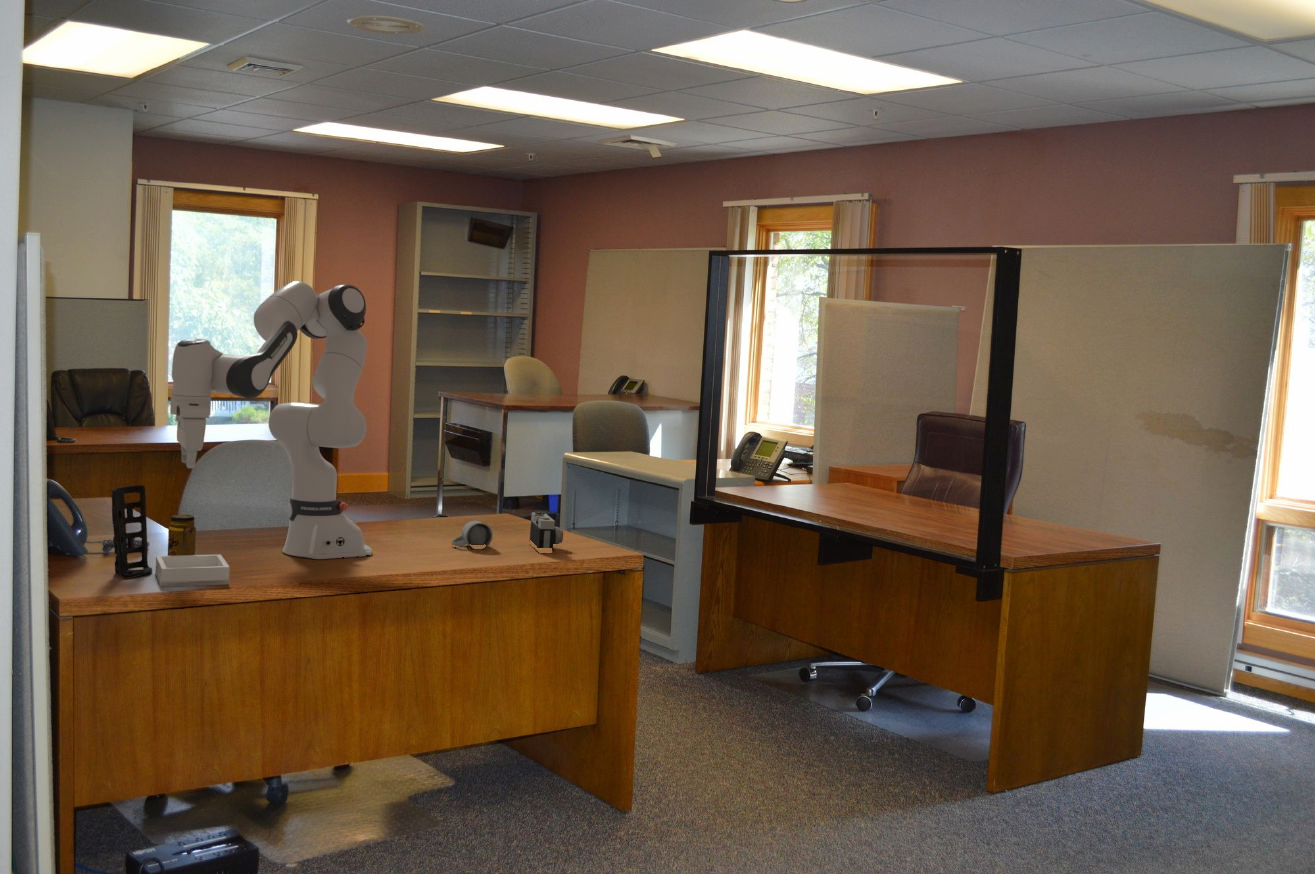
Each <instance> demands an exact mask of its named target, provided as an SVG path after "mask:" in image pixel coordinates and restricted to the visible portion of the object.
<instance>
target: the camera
mask: <svg viewBox="0 0 1315 874" xmlns="http://www.w3.org/2000/svg"><path fill="white" fill-rule="evenodd" d="M555 523H556V521H555V520H554V519H553V518H552V517H551V516H549V515H548V514H547V513H546V512H543V511H535V512H531V518H530V529H529V530H530V532H529V541H530V540H531V541H532V542H533V543H534V544H535V545H536V546H537V548H553V549H554V547H553V544H559V545H560V544H561V543H562V542H563V541H564V540H563V539H564V532H563V530H562V529H560V527H559V526H555Z"/></svg>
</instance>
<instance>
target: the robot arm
mask: <svg viewBox="0 0 1315 874" xmlns="http://www.w3.org/2000/svg"><path fill="white" fill-rule="evenodd" d="M366 311H367V303H366V299H365V296H364V293H362V291H361V290H360V289H359V288H358V287H356V286H355V285H353V284H340V285H335V286H334V287H332V288H331V289H330V288H329V289H328V290H325V291H323V292H321V293H319V294H318V293H316V291H315V290H314V289H313V287H312V286H311V285H309V284H308V283H306V282H304V281H300V280H298V281H297V280H294V281H291V282H289V283H286V284H285V285H283V286H282V287H280V288H279V289H277V290H276V291H274V292H272V294H270V295H269V296H268V297H267V298H266V299H265V300H264V301H263V302H262V303H260V305H259V306H258V307H257V308H256V310H255V312H254V313H253V314H254V315H253V324H254V325H253V326H254V328H255V330H256V332H257V334H258V335H259V336H260V338H262V339H263V340H264V342H263V344H262V345H261V347H260V348H259V349H258V350H257V351H256V353H252V354H249V355H236V354H235V355H234V354H225V353H224V352H221V351H220V350H218V349H216V348H215V347H213V345H212V344H211V341H210V340H208V339H204V338H187V339H183V340H180V341H179V342H178V343H176V344H175V347H174V351H173V354H172V364H171V365H172V366H171V379H172V387H171V388H172V389H171V393H170V408H169V409H170V410H169V411H170V412H169V413H170V415H174V416H175V422H177V424H176V425H177V426H176V441H177V442H178V443H179V444H180V451H181V462H182V463H183V464H185V466H186V468H187V469H195V468H196V461H197V460H196V459H197V455H198V451H199V452H200V451H202V449H203V447H204V441H205V436H206V435H205V434H206V428H207V426H206V425H207V419H209V418H210V416H211V413H212V412H211V409H212V408H211V406H212V393H214V394H221V395H229V396H237V397H239V398H244V399H245V398H246V399H255V398H257V397H259V396H261V395H262V394H263V393H264V392H265V390H266V389H267V387H268V386H269V383H270V381H271V379H272V377H273V375H274V373H275V372H276V370H277V369H278V368H279V366H280V365H281V363H283V361H284V360H285V358H286V357H287V356H288V354H289V353H290V352H291V350H292V349H293V348H294V346H295V344H296V342H297V339H298V331H300V332H301V333H302V334H303V335H304V336H306V337H308V338H310V339H314V340H319V339H326V342H325V343H326V344H325V348H324V351H323V352H322V354H321V356H320V359H319V362H318V365H317V366H316V368H315V369H316V370H315V372H314V374H313V377H312V386H313V389H314V391H315V392H316V393H317V394H318V396H320V397H321V398H322V399H323V402H321V403H314V402H313V403H311V402H310V403H309V402H302V401H301V402H300V401H299V402H298V401H293V402H292V401H291V402H285V403H279V404H277V405H275V407H274V408H273V409H272V410H271V412H270V414H269V417H268V428H269V432H270V433H271V435H272V437H273V438H274V439H275V440H276V441H277V442H278V443H279V444H280V445H281V447H283V449H284V450H285V453H286V455H287V457H288V459H289V463H290V467H291V483H292V485H291V497H290V499H289V503H288V519H289V522H288V523H289V524H288V530H287V535H286V540H285V543H284V546H283V548H282V553H284V554H286V555H289V556H293V557H301V558H302V557H303V558H309V559H313V560H328V559H340V558H341V559H342V557H344V558H356V557H357V556H358V557H367V556H366V555H370V556H371V555H372V554H373V549H372V548H371V546H369V545H367V544H365V541H364V534H363V532H362V529H361V528H360V527H359V526H358V525H357V524H356V523H355V522H354V521H353V520H351V519H350V518H349V517H348V516H347V515H346V514H345V515H344V513H343V512H345V511H347V510H348V509H349V505H348V503H346V502H345V501H341V500H339V499H337V486H338V485H337V484H338V483H337V482H338V471H337V469H336V467H335V466H334V465H333V464H332V463H331V462H329V461H327V460H326V459H325V458H324V457H323V455H322V454H321V452H320V451H321V450H320V447H322V448H331V449H332V448H333V449H346V448H354V447H358V446H359V445H360V444H361V443H362V442H363V440H364V439H365V437H366V434H367V428H368V427H367V426H368V425H367V420H366V418H365V416H364V414H363V413H362V412H361V411H360V410H359V409H358V407H357V406H356V403H355V392H356V389H357V386H358V382H359V379H360V376H361V374H362V371H363V368H364V365H365V361H366V357H367V353H368V340H367V338H366V336H365V335H364V334H363V333H362V332H361V331H360V329H362V327H363V326H364V324H365V321H366V320H365V315H366ZM358 557H357V558H358Z"/></svg>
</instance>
